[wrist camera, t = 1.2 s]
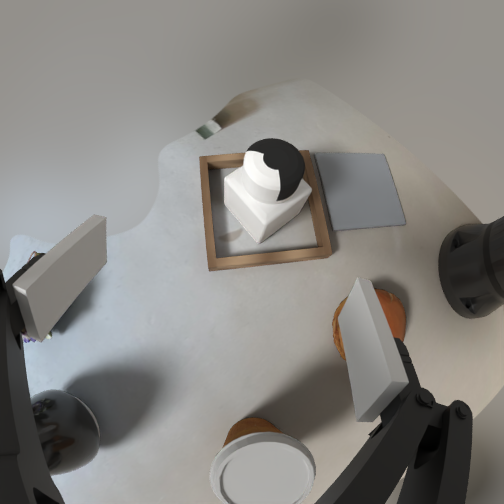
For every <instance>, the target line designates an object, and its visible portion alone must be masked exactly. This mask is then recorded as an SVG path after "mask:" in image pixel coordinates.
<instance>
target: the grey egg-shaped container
mask: <svg viewBox="0 0 504 504" xmlns="http://www.w3.org/2000/svg"><path fill="white" fill-rule="evenodd" d="M30 399H31V405H32V410H33V414H34V419H35V423H36V428H37V432H38V436H39V440H40V443H41V447H42V450H43V454H44V457H45V460H46V464H47V467H48V470H49V473H50V476H53V475H60V474H64V473H68V472H71V471H74V470H77V469H79V468H81V467H83V466H85V465H87V464H88V463H90V462H91V461H92V460H93V459H94V458H95V456H96V455H97V453H98V450H99V445H100V431H99V426H98V423H97V420H96V418H95V416H94V414H93V413H92V411H91V410H90V409H89V407H88V406H87V405H86V404H85V403H84V402H82V401H81V400H80V399H78V398H77V397H75V396H73V395H71V394H69V393H67V392H64V391H61V390H46V391H43V392H40V393H38V394H36V395H34V396H33V397H31V398H30Z"/></svg>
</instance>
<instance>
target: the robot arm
mask: <svg viewBox="0 0 504 504" xmlns="http://www.w3.org/2000/svg"><path fill="white" fill-rule="evenodd" d="M106 263H107V249H106V217H102V216H98V215H93V216H92V217H90V218H89V219H88V220H87V221H85V222H84V223H83V224H81V225H80V226H79V227H78V228H76V229H75V230H74V231H73V232H71V233H70V234H69V235H68V236H66V237H65V238H64V239H63V240H61V241H60V242H59V243H58V244H57V245H55V246H54V247H53V248H52V249H51V250H50V251H48V252H47V253H41V254H39V255H37V256H35V257H33V258H32V259H31V260H30V261H29V262H28V263H27V264H25V265H24V266H23V267H22V269H20V270H19V271H17V272H16V273H15V274H14V275H13V276H12V277H11V278H10V279H9V280H8V281H7V282H6V283H5V281H4V277H3V273H2V270H1V269H0V504H65V503H64V500H63V498H62V496H61V494H60V492H59V490H58V489H57V487H56V486H55V484H54V482H53V480H52V478H51V476H50V473H49V470H48V467H47V464H46V460H45V457H44V454H43V450H42V447H41V443H40V440H39V436H38V432H37V428H36V423H35V419H34V414H33V410H32V405H31V399H30V394H29V388H28V381H27V374H26V367H25V358H24V348H23V337H22V334H21V331H22V330H23V328H24V327H25V328H26V330H27V333H28V336H29V337H31V338H33V339H35V340H37V341H39V342H41V343H42V341H43V340H44V338H45V337H46V336H47V334H48V333H49V332H50V331H51V329H52V328H53V327H54V325H55V324H56V323H57V321H58V320H59V319H60V318H61V316H62V315H63V314H64V313H65V311H66V310H67V309H68V308H69V306H70V305H71V304H72V303H73V301H74V300H75V299H76V298H77V297H78V295H79V294H80V293H81V292H82V291H83V289H84V288H85V287H86V286H87V285H88V283H89V282H90V281H91V280H92V279H93V278H94V276H95V275H96V274H97V273H98V272H99V271H100V270H101V268H102V267H103V266H104V265H105V264H106ZM439 276H440V281H441V285H442V289H443V292H444V294H445V296H446V298H447V300H448V302H449V304H450V305H451V307H452V308H453V309H454V310H455V311H456V312H457V313H458V314H460V315H461V316H463V317H465V318H469V319H474V318H480V317H484V316H487V315H489V314H490V313H492V312H493V311H495V310H496V309H497V308H499V307H500V306H502V305H503V304H504V216H503V217H502V218H500V219H498V220H496V221H494V222H492V223H490V224H472V225H464V226H461V227H459V228H457V229H455V230H453V231H452V232H450V233H449V234H448V235H447V236H446V238H445V239H444V241H443V243H442V246H441V249H440V254H439ZM338 322H339V326H340V331H341V336H342V341H343V346H344V351H345V356H346V362H347V367H348V372H349V378H350V384H351V390H352V396H353V402H354V408H355V414H356V421H357V422H373V421H374V420H375V419H376V418H377V417H378V416H379V415H380V416H381V421H382V422H381V423H380V424H379V425H378V426H377V427H376V428H375V429H374V430H373V431H372V432H371V433H370V434H368V435H370V437H369V439H368V440H367V441H366V443H365V444H364V446H363V447H362V448H361V450H360V451H359V452H358V453H357V455H356V456H355V457H354V459H353V460H352V461H351V462H350V464H349V465H348V466H347V467H346V469H345V470H344V471H343V472H342V473H341V475H340V476H339V477H338V478H337V479H336V480H335V482H334V483H333V484H332V485H331V486H330V487H329V488H328V490H327V491H326V492H325V493H324V494H323V495H322V496H321V497H320V498H319V499H318V500H317V502H316V503H315V504H385V503H386V501H387V499H388V498H389V496H390V495H391V493H392V492H393V490H394V488H395V487H396V485H397V483H398V482H399V480H400V479H401V477H402V475H403V473H404V472H405V470H406V468H407V466H408V468H407V472H406V475H405V479H404V482H403V486H402V489H401V492H400V495H399V498H398V502H397V504H465V499H466V492H467V486H468V479H469V470H470V459H471V447H472V420H473V417H472V412H471V410H470V408H469V406H468V405H467V404H466V403H464V402H463V401H460V400H456V401H454V402H452V403H451V404H450V405H449V406H445V405H441V404H438V403H436V401H435V398H434V397H433V395H432V394H431V393H430V392H429V391H428V390H426V389H424V388H421V386H420V383H419V380H418V377H417V374H416V372H415V369H414V366H413V364H412V361H411V358H410V357H409V353H408V350H407V348H406V346H405V345H404V343H403V342H402V341H401V339H400V338H395V337H393V335H392V333H391V330H390V327H389V325H388V322H387V319H386V317H385V314H384V312H383V309H382V307H381V304H380V302H379V300H378V297H377V295H376V292H375V290H374V288H373V285H372V283H371V280H367V279H363V278H359V277H357V279H356V281H355V284H354V286H353V288H352V290H351V292H350V294H349V296H348V298H347V300H346V302H345V304H344V306H343V308H342V310H341V312H340V314H339V316H338Z"/></svg>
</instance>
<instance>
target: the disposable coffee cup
mask: <svg viewBox="0 0 504 504" xmlns="http://www.w3.org/2000/svg"><path fill="white" fill-rule="evenodd" d="M315 475H316V466H315V462H314V458H313V456H312V454H311V453H310V451H309V450H308V448H307V447H306V446H305V445H304V444H303V443H301V442H300V441H298V440H297V439H295V438H293V437H291V436H288V435H285V434H284V433H282V432H281V431H280V430H279V429H277V428H276V427H275V426H274V425H272V424H271V423H270V422H268V421H267V420H265V419H261V418H254V417H252V418H246V419H243V420H241V421H239V422H237V423H236V424H235V425H233V427H232V428H231V429H230V431H229V433H228V435H227V438H226V440H225V443H224V445H223V448H222V449H221V451H220V452H219V453H218V454H217V455H216V457H215V459H214V461H213V462H212V465H211V469H210V483H211V487H212V490H213V491H214V493H215V495H216V496H217V497H218V499H219V500H220V501H221V502H222V503H223V504H301V503H302V502H303V500H304V499H305V498H306V497H307V496H308V494H309V493H310V491H311V489H312V486H313V482H314V479H315Z"/></svg>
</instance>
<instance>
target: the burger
mask: <svg viewBox="0 0 504 504" xmlns="http://www.w3.org/2000/svg"><path fill="white" fill-rule="evenodd" d="M374 290H375V292H376V295H377V297H378V300H379V302H380V304H381V307H382V309H383V312H384V314H385V317H386V319H387V322H388V325H389V327H390V330H391V333H392V335H393V337H395V338H400V339H401V341H402V342H403V341H404V337H405V329H406V315H405V310H404V307H403V305H402V302H401V301H400V299H399V298H397V297H396V296H395V295H394V294H392V293H388V292H387V291H385V290H383V289H382V290H381V289H376V288H374ZM347 298H348V297H347ZM347 298H345V299H344V300H343V301H342V302H341V303H340V306H339V307H338V308H337V309H336V312H335V314H334V319H333V323H332V325H333V337H334V343H335V345H336V347H337V349H338V351H339V352H340V355H341V357H342V358H343V359H344V360H345V361H346V356H345V351H344V346H343V341H342V336H341V331H340V326H339V322H338V316H339V314H340V312H341V310H342V308H343V306H344V304H345V302H346V300H347Z"/></svg>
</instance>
